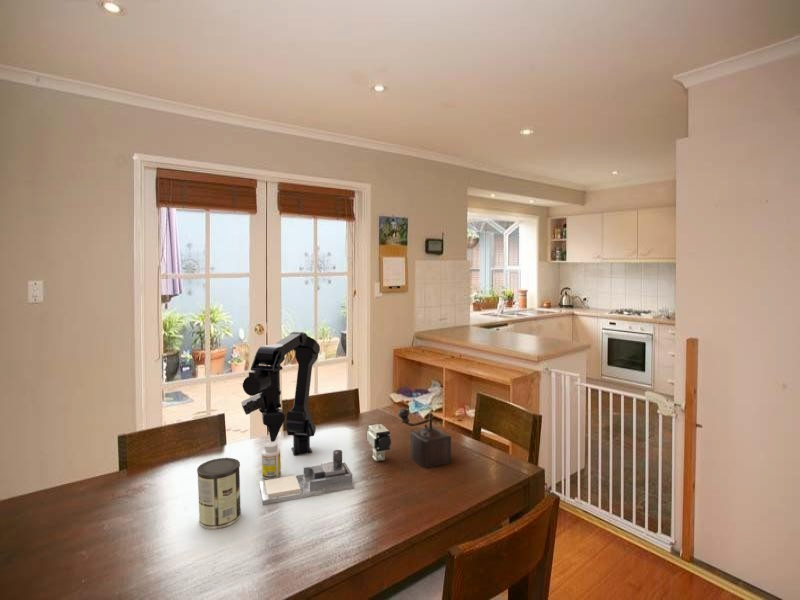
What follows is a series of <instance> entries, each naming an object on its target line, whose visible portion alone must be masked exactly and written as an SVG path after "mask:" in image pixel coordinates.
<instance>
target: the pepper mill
mask: <svg viewBox="0 0 800 600" xmlns="http://www.w3.org/2000/svg"><path fill="white" fill-rule="evenodd" d="M397 414H398V417H399V418H400V419H401V423H402V424H406V425H408V426H410V427H417V426H421V425H423V424H425V425H424V427H422V428H419V429H418V430H417V429H416V430H412V431H410V456H409V457H410V458H411V459H412V461H413V460H414V462H415V463H416V464H417V465H418V466H419V465H420V466H419V467H421V468H422V469H424V468H427V469H432V467H433V468H438V467H441V465H442V466H446V465H449V464H451V463H452V436H451V435H449V434H448V433H446V432H445V431H443V430H442V429H440V428H438V427H436V426H433V420H434V414H433V413H432V412H430V413H428V418H427V419H425V420H422V421H420V422H419V421H418V422H415V423H413V422H410V419H409V415H410V411H409V409H407V408H405V407H404V408H401V409H400V410H398V412H397ZM428 422H429V426H428V425H427V424H426V423H428Z"/></svg>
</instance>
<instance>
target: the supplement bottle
mask: <svg viewBox="0 0 800 600" xmlns="http://www.w3.org/2000/svg"><path fill="white" fill-rule="evenodd" d="M278 446H279V445H278V443H277V442H276V441H274V442H271V441H270V442H266V443H264V446H263V447H264V448H263V450H262V452H261V467H262V468H261V470H262V471H261V472H262V475H261V476H262V478H264V479H265V480H269V479H276V478H280V476H281V474H282V473H281V469H282V468H281V464H282V463H281V450H280V448H278Z"/></svg>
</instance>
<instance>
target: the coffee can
mask: <svg viewBox="0 0 800 600" xmlns="http://www.w3.org/2000/svg"><path fill="white" fill-rule="evenodd" d="M240 467H241V463H240V461H239V460H238V459H236V458H231V457H220V458H215V459H210V460H208V461H205V462H203V463H201V464H200V465H199V466H198V467H197V469H196V474H197V487H198V488H197V491H198V513H199V517H198V518H199V520H198V523H199V526H200V527H202V528H205V529H207V528H208V529H209V530H218V528H219V529H223V528H226V526H227V527H229V526H232V525H233V524H235V523H236V522H238V520H239V519H240V518H241V516H242V511H241V510H242V509H241V487H240V486H241V479H240Z"/></svg>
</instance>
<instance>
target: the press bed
mask: <svg viewBox="0 0 800 600" xmlns="http://www.w3.org/2000/svg"><path fill="white" fill-rule="evenodd" d="M296 476H297V475H296V474H295V475H288V476H281V477H277V478H275V479H265V480H264V481H265V485H266V490H267V495H268V497H271V496H277V495H282V494H288V493H294V492H300V486H299V483H298V480H297V478H296Z"/></svg>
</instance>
